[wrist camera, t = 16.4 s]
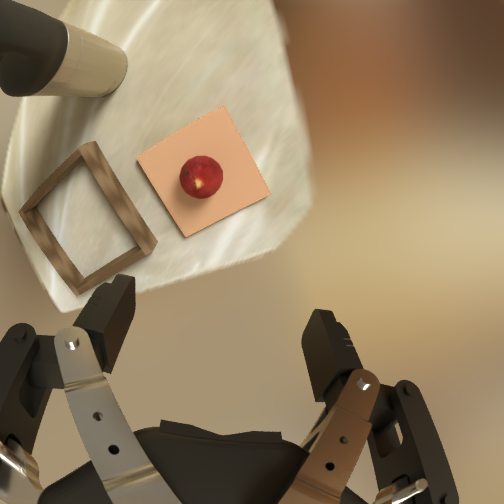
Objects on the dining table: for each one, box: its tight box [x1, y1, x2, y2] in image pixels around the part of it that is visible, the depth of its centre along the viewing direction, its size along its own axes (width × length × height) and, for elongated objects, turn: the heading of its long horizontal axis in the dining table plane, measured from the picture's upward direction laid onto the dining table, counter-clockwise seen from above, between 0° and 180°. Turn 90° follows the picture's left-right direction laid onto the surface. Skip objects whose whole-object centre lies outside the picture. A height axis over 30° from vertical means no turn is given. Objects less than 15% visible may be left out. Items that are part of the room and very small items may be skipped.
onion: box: [179, 156, 223, 199], centre depth 35 cm, size 6×6×8 cm
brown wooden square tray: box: [19, 141, 158, 296], centre depth 40 cm, size 20×20×4 cm
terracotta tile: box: [136, 106, 271, 237], centre depth 39 cm, size 15×15×2 cm
